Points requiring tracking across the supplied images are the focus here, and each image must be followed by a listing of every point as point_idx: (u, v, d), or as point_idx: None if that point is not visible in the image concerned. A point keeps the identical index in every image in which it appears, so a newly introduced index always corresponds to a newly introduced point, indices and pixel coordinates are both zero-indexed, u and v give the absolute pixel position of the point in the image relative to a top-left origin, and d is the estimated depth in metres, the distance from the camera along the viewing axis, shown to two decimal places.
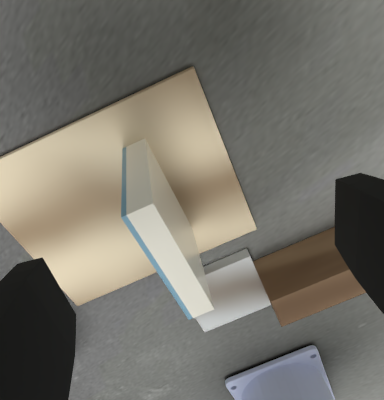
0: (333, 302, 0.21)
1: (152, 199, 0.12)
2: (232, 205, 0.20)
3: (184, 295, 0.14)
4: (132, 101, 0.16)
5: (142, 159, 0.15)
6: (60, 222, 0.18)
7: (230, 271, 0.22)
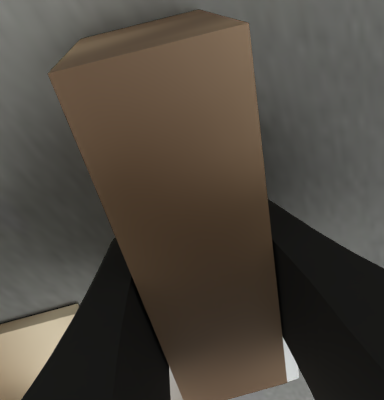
0: (262, 289, 0.07)
1: None
2: (13, 350, 0.11)
3: None
4: None
5: None
6: None
7: None
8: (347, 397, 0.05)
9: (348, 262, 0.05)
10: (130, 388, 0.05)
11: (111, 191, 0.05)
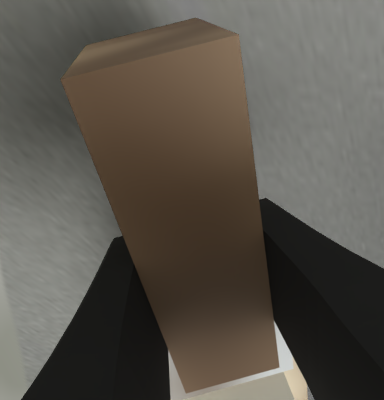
0: (254, 277, 0.07)
1: None
2: None
3: None
4: None
5: None
6: None
7: None
8: (347, 397, 0.05)
9: (348, 262, 0.05)
10: (130, 388, 0.05)
11: (116, 185, 0.06)
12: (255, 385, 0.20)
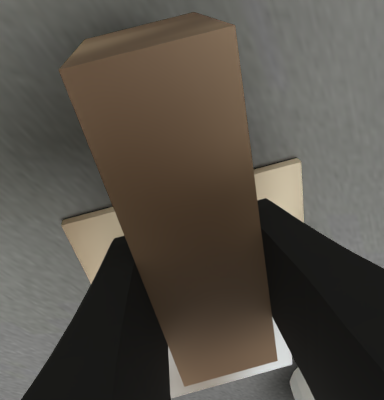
0: (252, 269, 0.07)
1: None
2: None
3: None
4: (93, 279, 0.16)
5: None
6: None
7: None
8: (347, 397, 0.05)
9: (348, 262, 0.05)
10: (130, 388, 0.05)
11: (114, 176, 0.06)
12: None
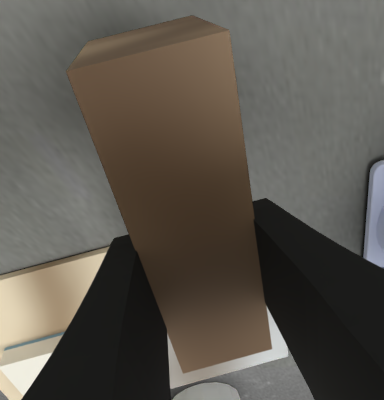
0: (246, 260, 0.08)
1: None
2: (76, 272, 0.18)
3: None
4: None
5: (18, 385, 0.20)
6: None
7: None
8: (346, 397, 0.05)
9: (347, 262, 0.05)
10: (130, 388, 0.05)
11: (116, 170, 0.06)
12: None
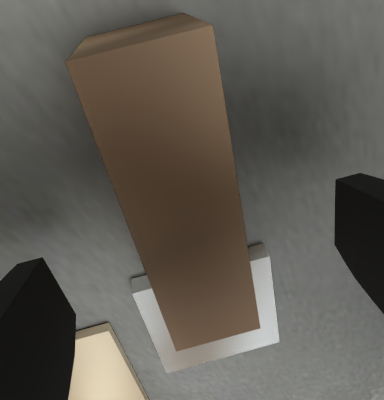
0: (234, 240, 0.08)
1: None
2: None
3: None
4: None
5: None
6: None
7: (157, 316, 0.13)
8: None
9: None
10: None
11: (111, 154, 0.07)
12: None
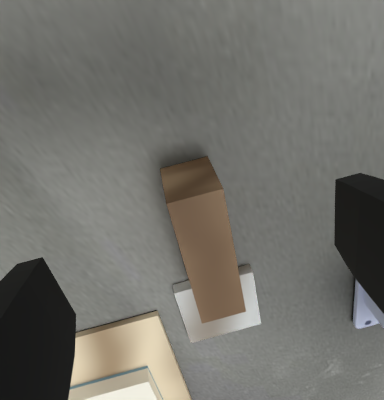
0: (232, 268, 0.17)
1: None
2: (126, 332, 0.23)
3: None
4: None
5: None
6: None
7: (187, 307, 0.22)
8: None
9: None
10: None
11: (180, 234, 0.16)
12: None
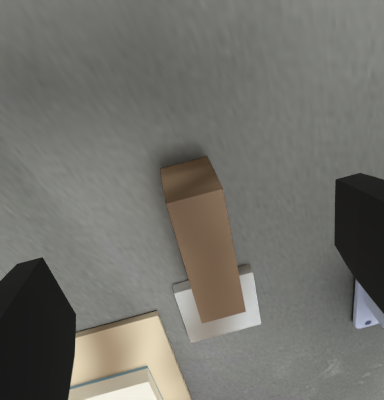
0: (231, 268, 0.17)
1: None
2: (126, 332, 0.23)
3: None
4: None
5: None
6: None
7: (187, 307, 0.22)
8: None
9: None
10: None
11: (179, 234, 0.16)
12: None
